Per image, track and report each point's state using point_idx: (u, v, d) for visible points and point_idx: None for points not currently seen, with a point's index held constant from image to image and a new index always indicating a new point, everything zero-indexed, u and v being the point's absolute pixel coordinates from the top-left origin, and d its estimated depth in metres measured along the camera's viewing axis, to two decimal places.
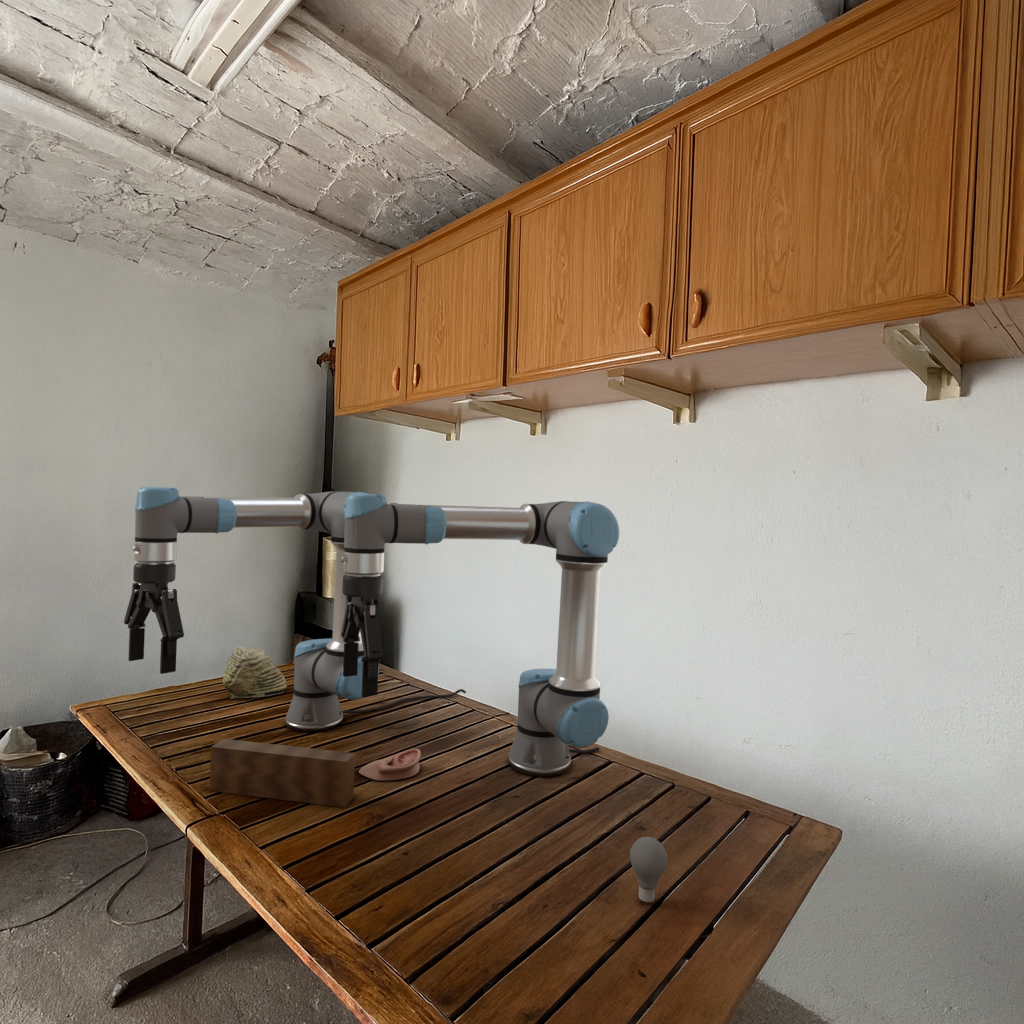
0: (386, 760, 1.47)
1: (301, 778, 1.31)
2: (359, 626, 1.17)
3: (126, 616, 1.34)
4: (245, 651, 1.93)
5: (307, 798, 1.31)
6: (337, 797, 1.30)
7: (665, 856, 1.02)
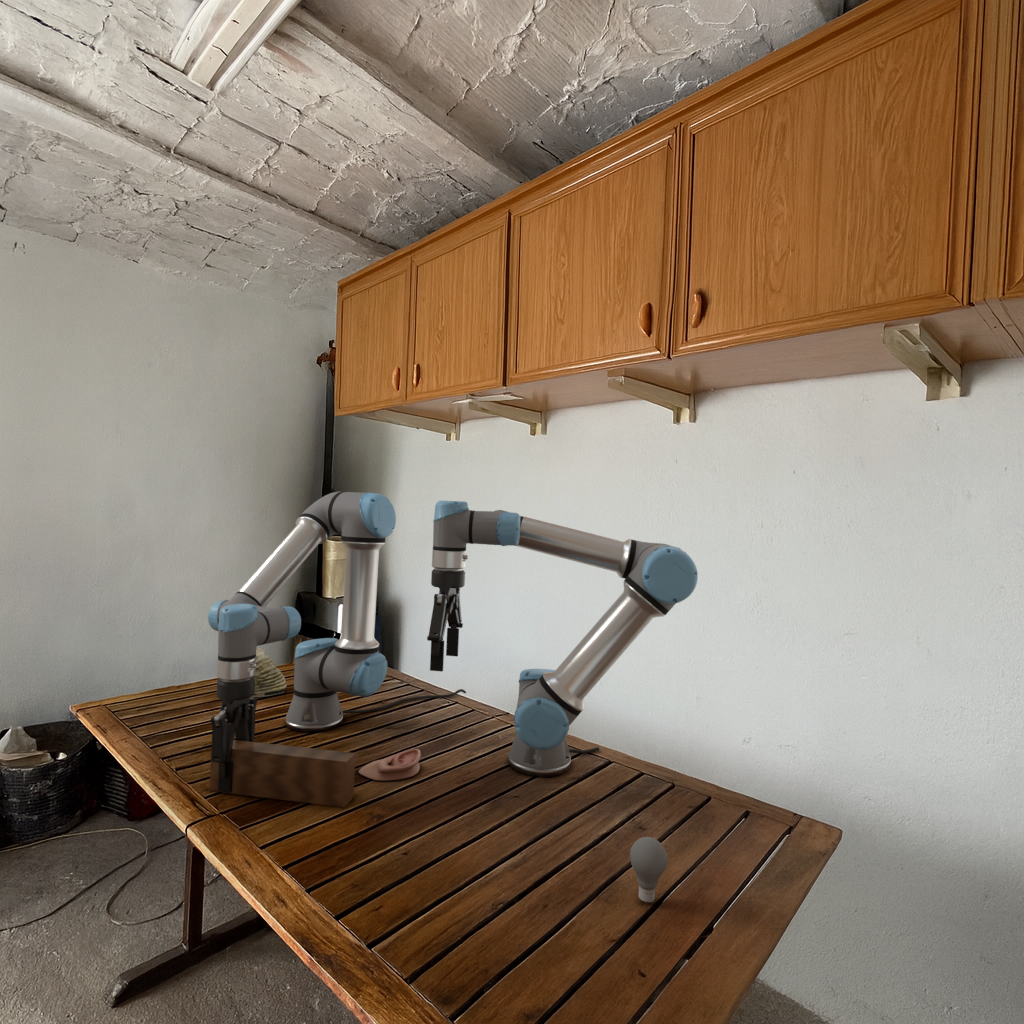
0: (386, 760, 1.47)
1: (301, 778, 1.31)
2: None
3: (223, 754, 1.30)
4: None
5: (307, 798, 1.31)
6: (337, 797, 1.30)
7: (665, 856, 1.02)
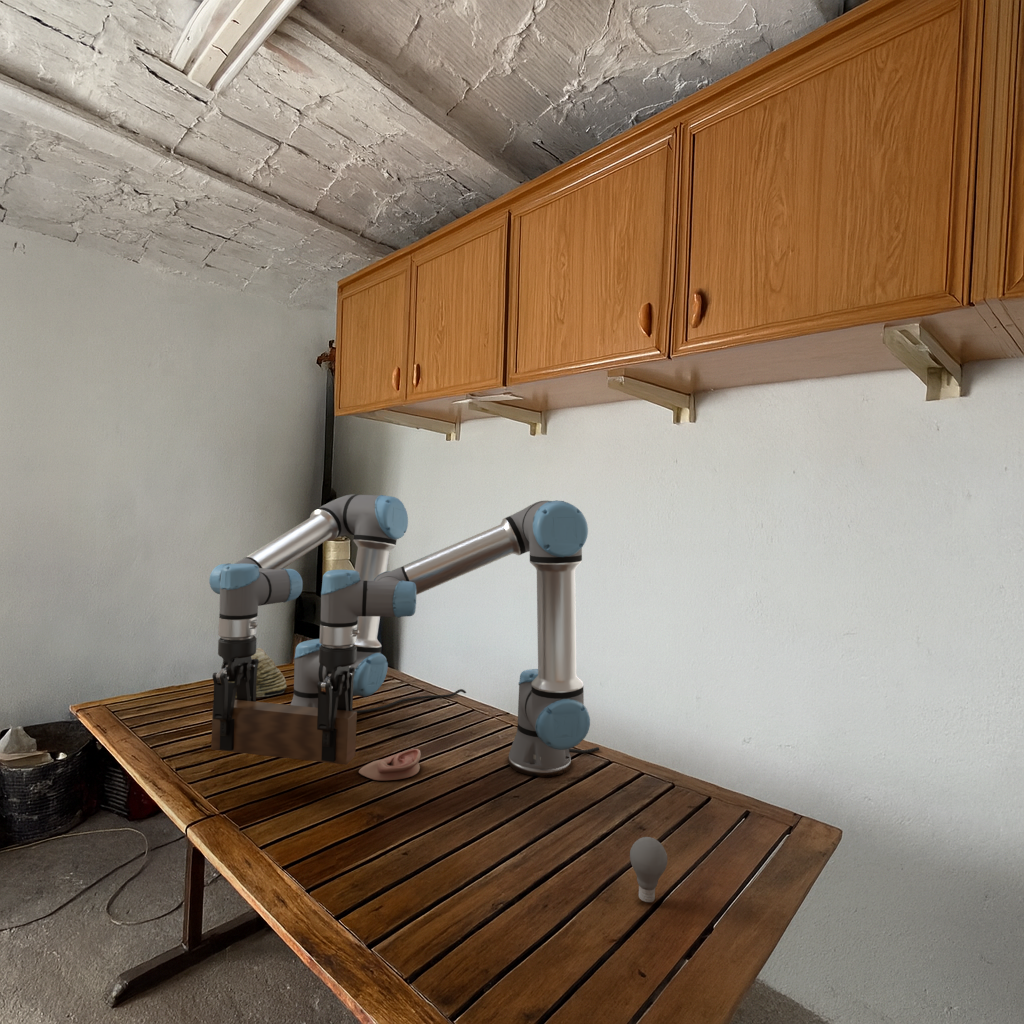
0: (386, 760, 1.47)
1: (303, 736, 1.31)
2: None
3: (225, 711, 1.30)
4: None
5: (309, 756, 1.31)
6: (339, 754, 1.30)
7: (665, 856, 1.02)
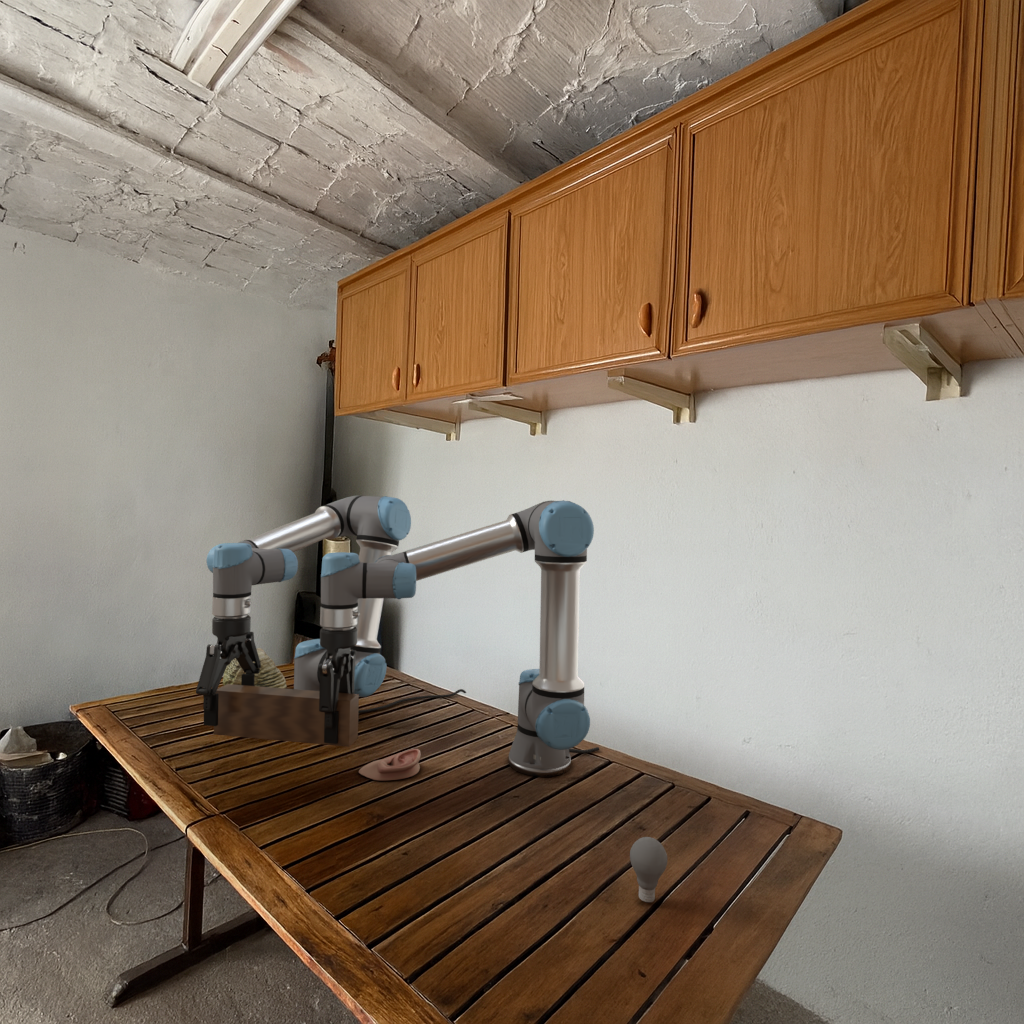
0: (386, 760, 1.47)
1: (305, 719, 1.31)
2: (348, 672, 1.34)
3: (210, 685, 1.27)
4: None
5: (312, 739, 1.31)
6: (341, 736, 1.30)
7: (665, 856, 1.02)
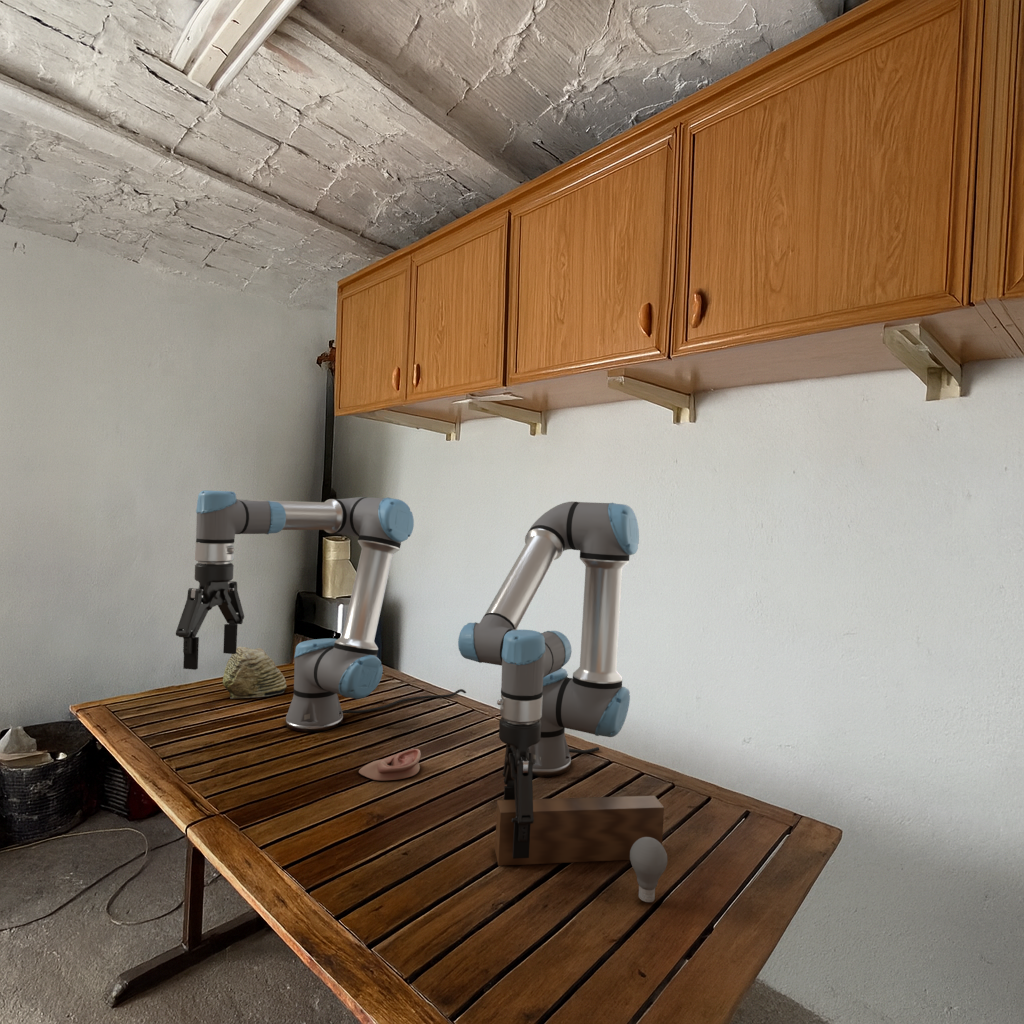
0: (386, 760, 1.47)
1: None
2: (513, 778, 1.10)
3: (190, 627, 1.27)
4: (245, 651, 1.93)
5: None
6: None
7: (665, 856, 1.02)
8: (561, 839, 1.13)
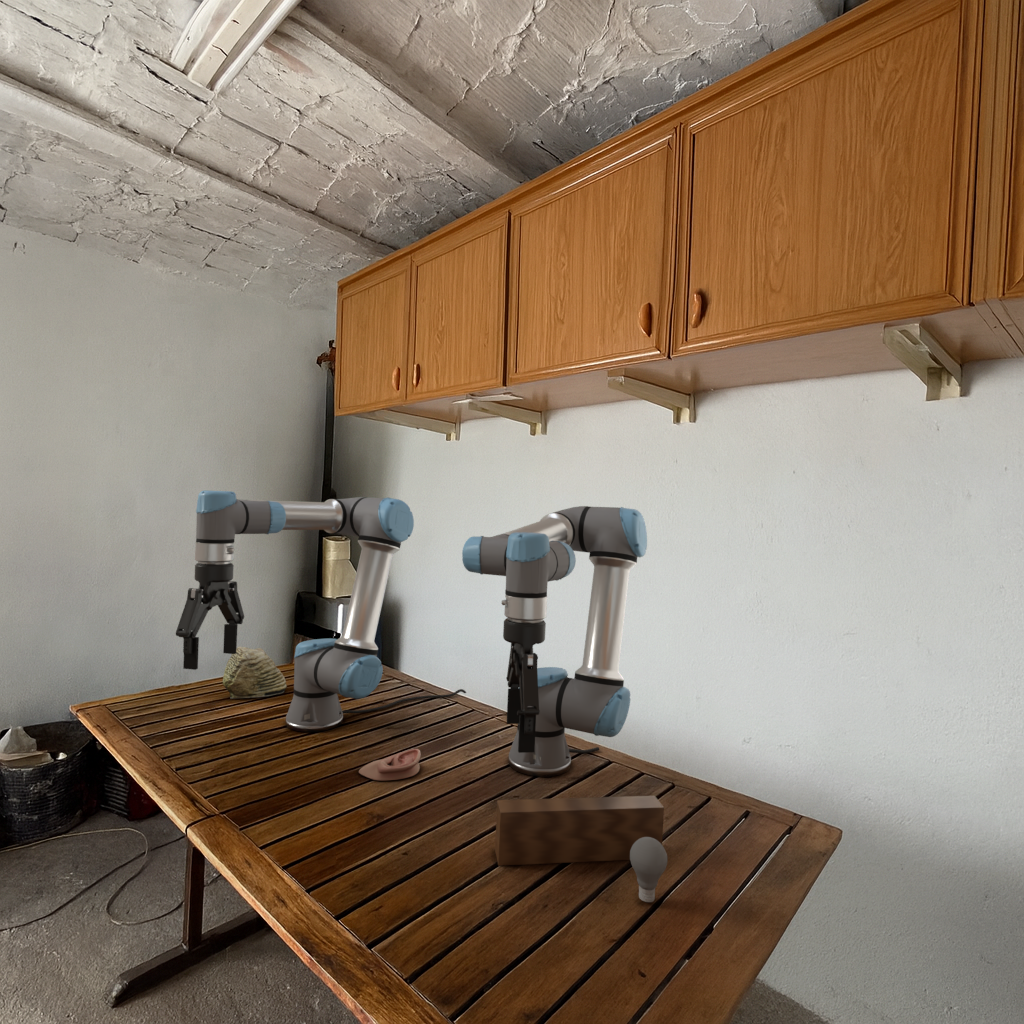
0: (386, 760, 1.47)
1: None
2: (518, 675, 1.10)
3: (190, 627, 1.27)
4: (245, 651, 1.93)
5: None
6: None
7: (665, 856, 1.02)
8: (561, 839, 1.13)
